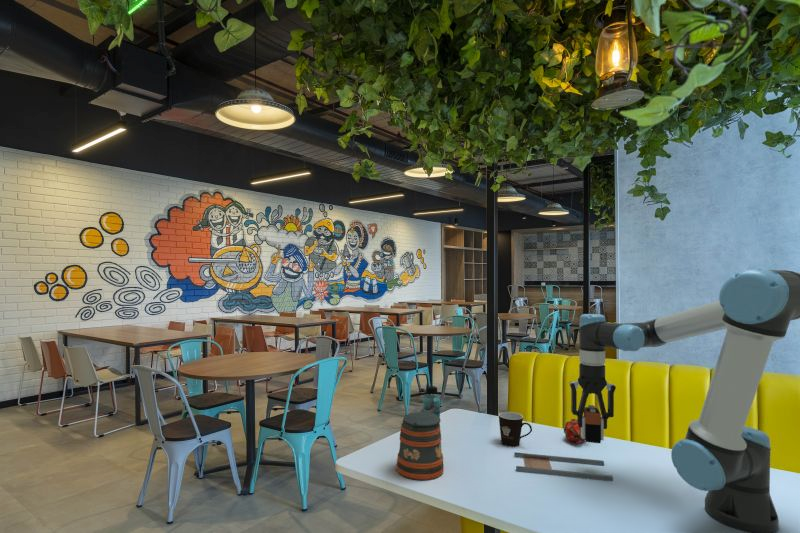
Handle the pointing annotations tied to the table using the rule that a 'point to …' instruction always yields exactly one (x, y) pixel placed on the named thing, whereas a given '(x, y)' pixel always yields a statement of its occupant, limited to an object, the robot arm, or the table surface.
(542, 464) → the rail
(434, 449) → the beer stein
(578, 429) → the dragon fruit
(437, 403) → the beverage bottle
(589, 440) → the battery
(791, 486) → the table surface
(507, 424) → the coffee mug
